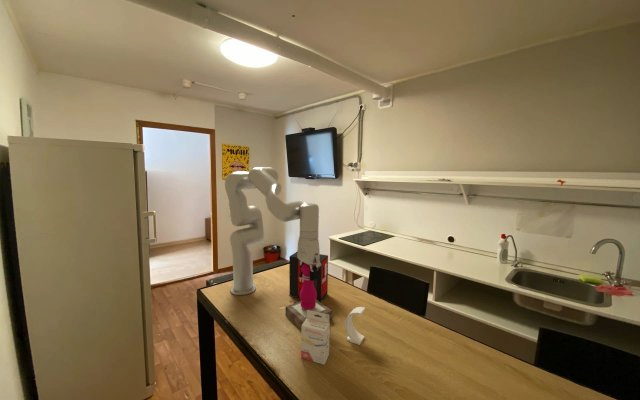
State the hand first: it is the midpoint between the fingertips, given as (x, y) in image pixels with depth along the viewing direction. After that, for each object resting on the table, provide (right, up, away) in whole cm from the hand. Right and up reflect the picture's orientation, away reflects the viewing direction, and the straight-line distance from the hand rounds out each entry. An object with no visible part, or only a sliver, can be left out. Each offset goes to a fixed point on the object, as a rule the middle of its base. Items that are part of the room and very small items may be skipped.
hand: (308, 276), depth 105 cm
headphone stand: (+17, -20, -11) cm, 29 cm away
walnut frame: (0, -18, +2) cm, 18 cm away
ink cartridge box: (+3, -21, -20) cm, 29 cm away
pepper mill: (0, -13, +2) cm, 13 cm away
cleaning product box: (-1, -16, +21) cm, 26 cm away
